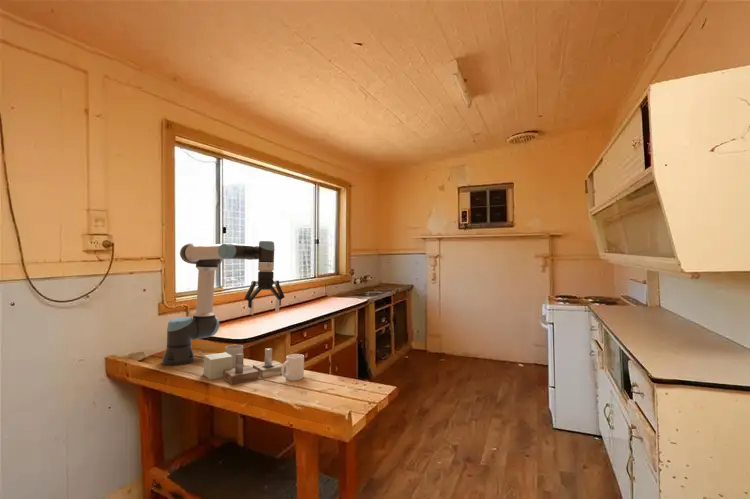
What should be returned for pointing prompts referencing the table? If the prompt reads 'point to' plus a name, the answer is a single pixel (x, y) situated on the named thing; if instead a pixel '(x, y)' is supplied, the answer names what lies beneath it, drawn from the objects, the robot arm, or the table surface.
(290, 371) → the mug
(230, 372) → the board
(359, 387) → the table surface
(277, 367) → the square block with hole
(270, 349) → the pin
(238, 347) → the mug
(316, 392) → the table surface
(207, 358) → the block
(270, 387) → the table surface
